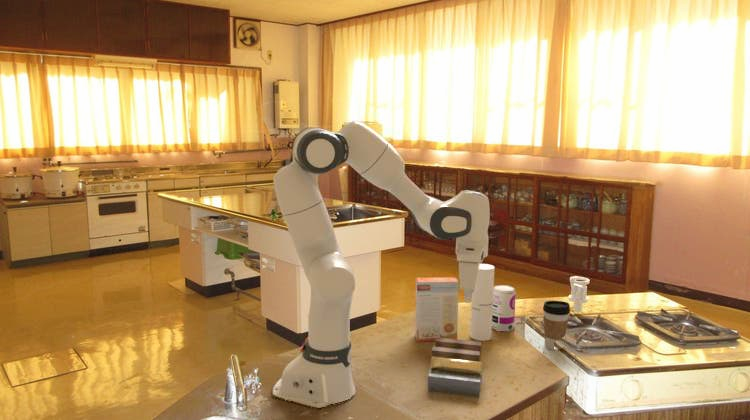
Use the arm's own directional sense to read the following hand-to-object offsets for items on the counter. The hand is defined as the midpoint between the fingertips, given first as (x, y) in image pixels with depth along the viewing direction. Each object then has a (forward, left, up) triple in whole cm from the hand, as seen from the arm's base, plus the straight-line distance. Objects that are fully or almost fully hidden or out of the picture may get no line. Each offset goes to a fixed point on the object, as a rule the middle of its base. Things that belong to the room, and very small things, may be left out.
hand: (469, 296), depth 153 cm
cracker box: (-13, +28, -25) cm, 39 cm away
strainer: (+37, +66, -25) cm, 79 cm away
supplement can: (+9, +43, -25) cm, 50 cm away
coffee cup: (+26, +31, -25) cm, 47 cm away
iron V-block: (-3, -4, -25) cm, 25 cm away
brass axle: (-3, -4, -19) cm, 20 cm away
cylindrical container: (+2, +33, -25) cm, 41 cm away
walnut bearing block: (-4, +9, -25) cm, 26 cm away
